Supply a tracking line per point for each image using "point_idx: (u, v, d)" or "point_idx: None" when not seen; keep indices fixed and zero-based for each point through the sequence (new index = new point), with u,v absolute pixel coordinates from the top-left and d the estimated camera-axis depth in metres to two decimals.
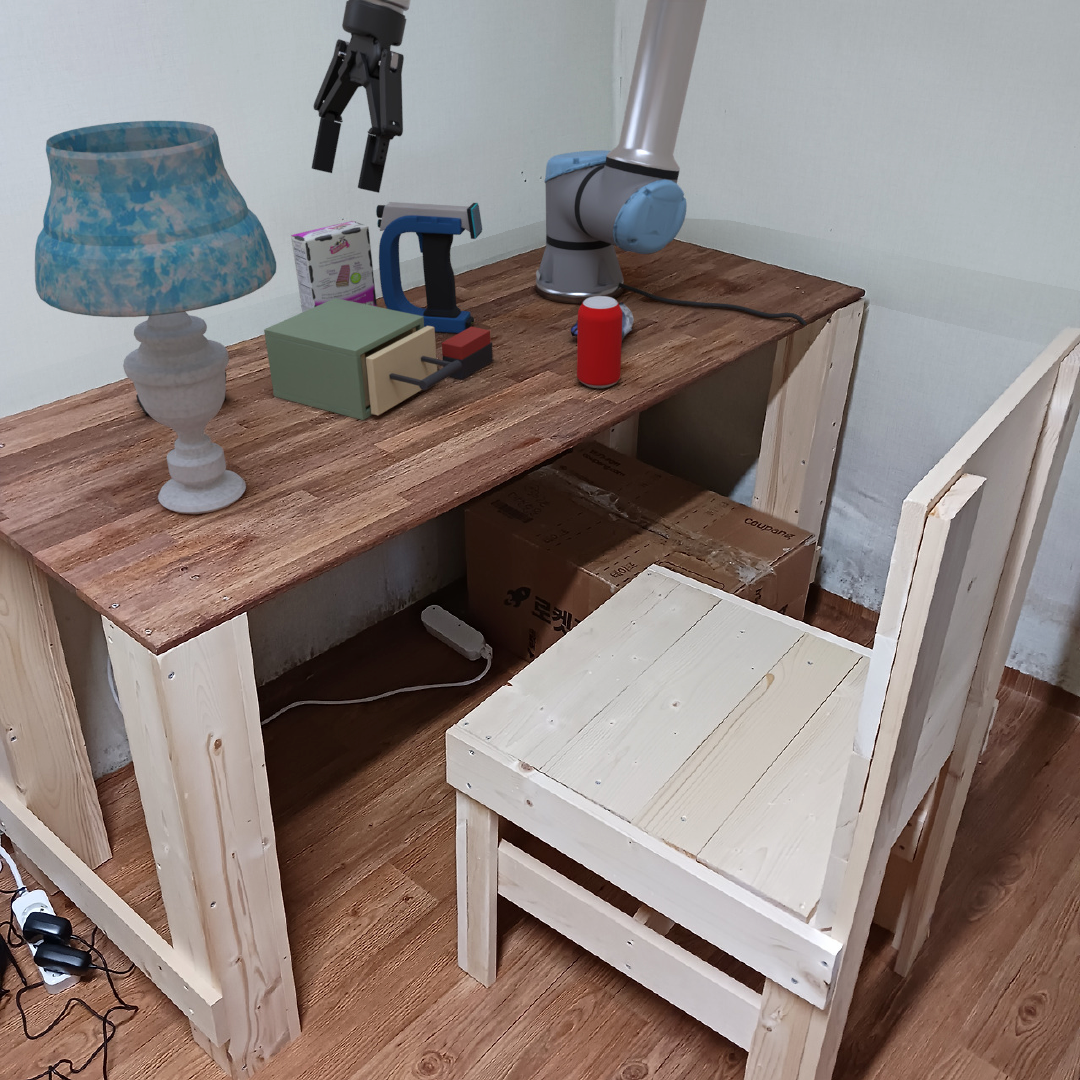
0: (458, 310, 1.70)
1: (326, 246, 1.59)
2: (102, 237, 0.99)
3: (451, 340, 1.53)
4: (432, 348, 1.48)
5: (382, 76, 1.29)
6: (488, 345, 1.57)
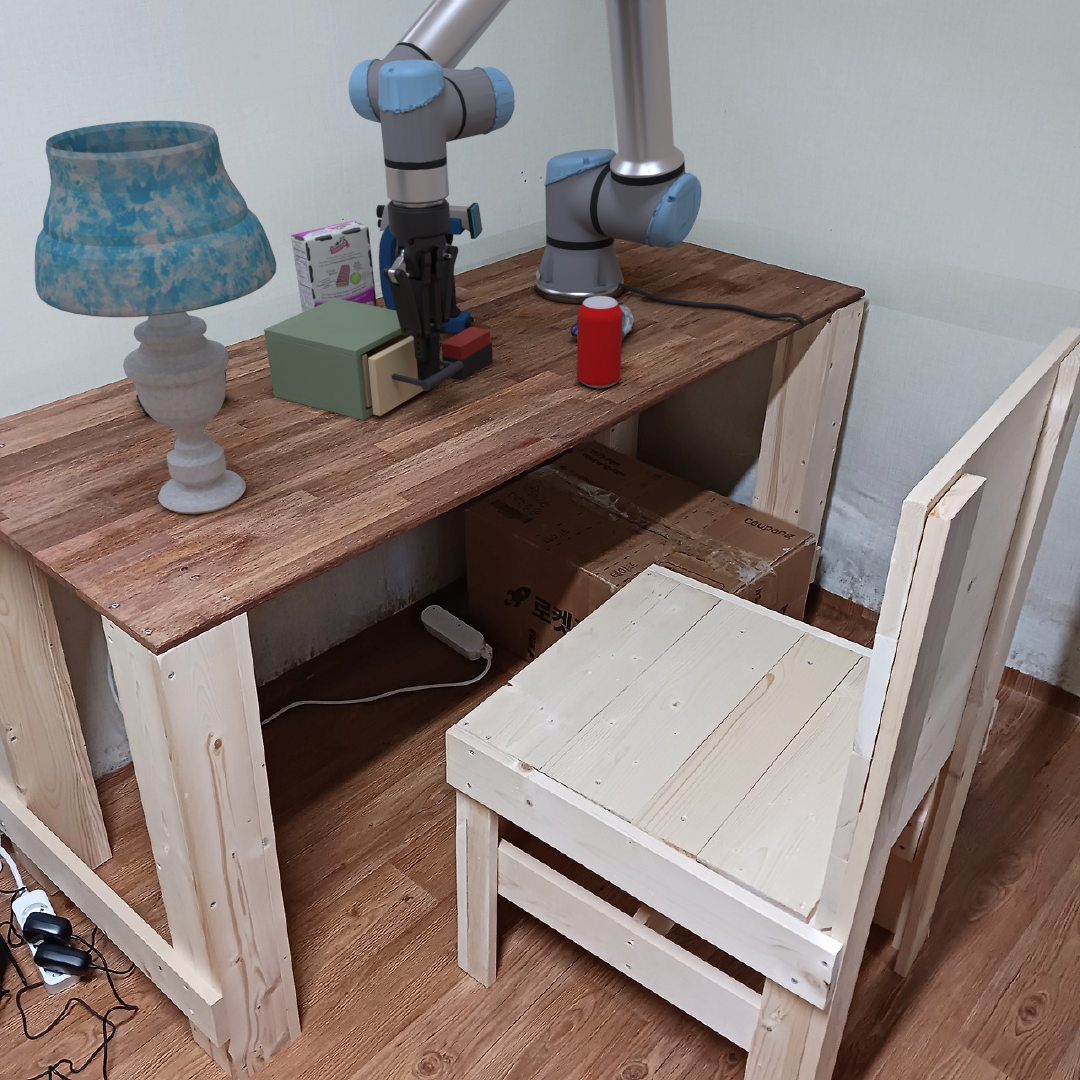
0: (458, 310, 1.70)
1: (326, 246, 1.59)
2: (102, 237, 0.99)
3: (451, 340, 1.53)
4: None
5: None
6: (488, 345, 1.57)
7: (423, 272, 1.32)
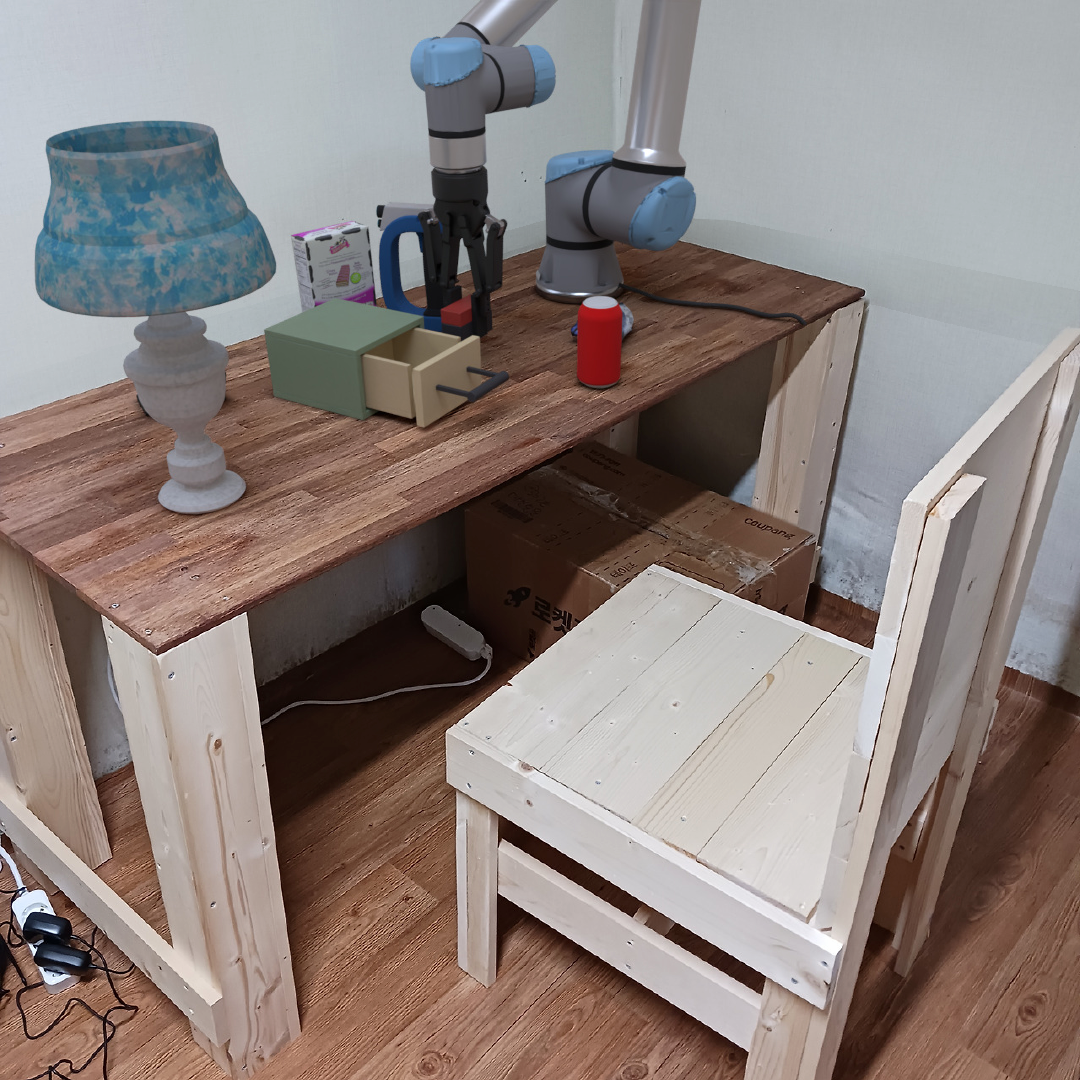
0: None
1: (326, 246, 1.59)
2: (102, 237, 0.99)
3: (450, 307, 1.50)
4: (477, 358, 1.44)
5: None
6: None
7: (442, 229, 1.46)
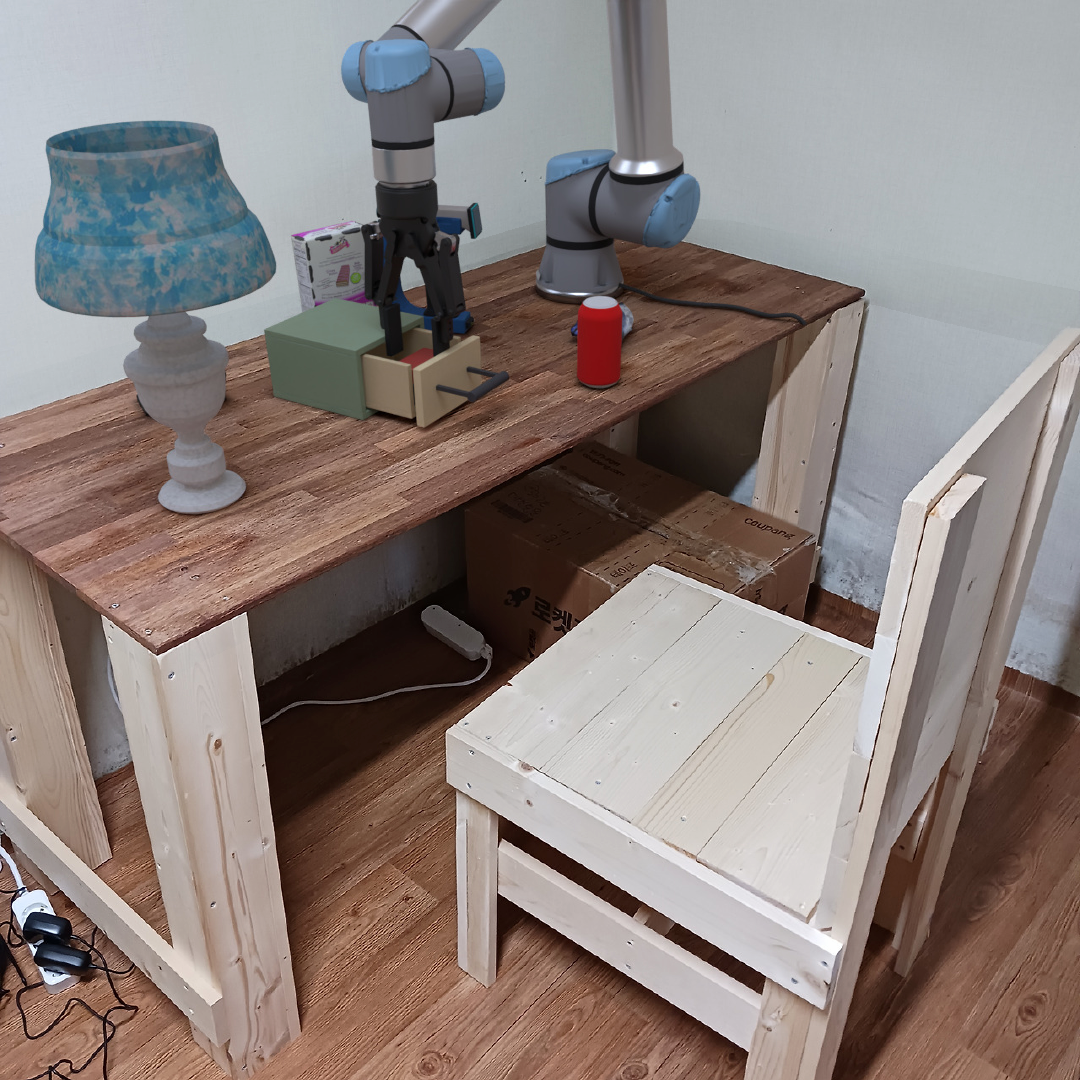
0: None
1: (326, 246, 1.59)
2: (102, 237, 0.99)
3: None
4: (477, 358, 1.44)
5: None
6: None
7: (386, 246, 1.34)
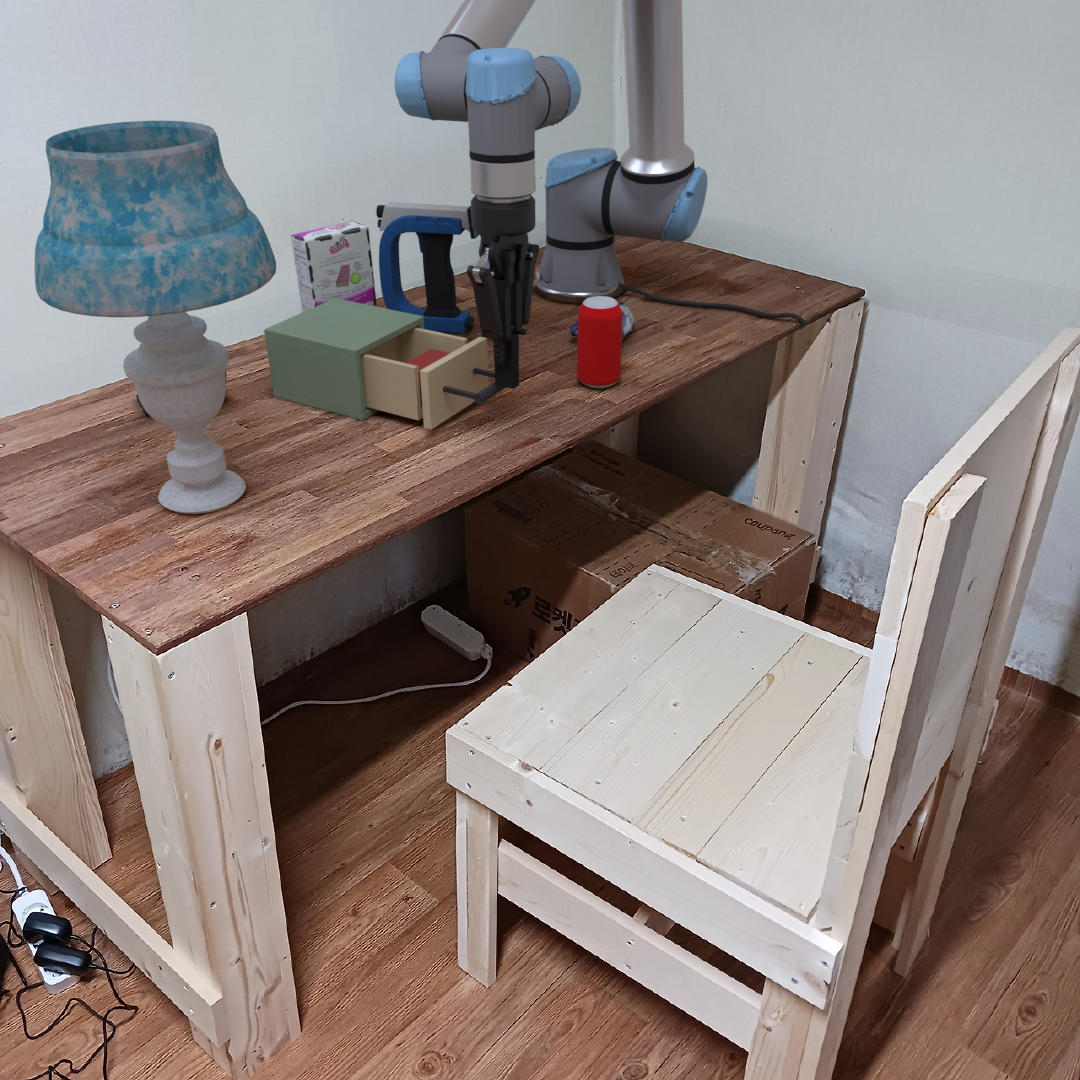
0: (458, 310, 1.70)
1: (326, 246, 1.59)
2: (102, 237, 0.99)
3: None
4: (484, 359, 1.44)
5: None
6: None
7: (507, 272, 1.26)
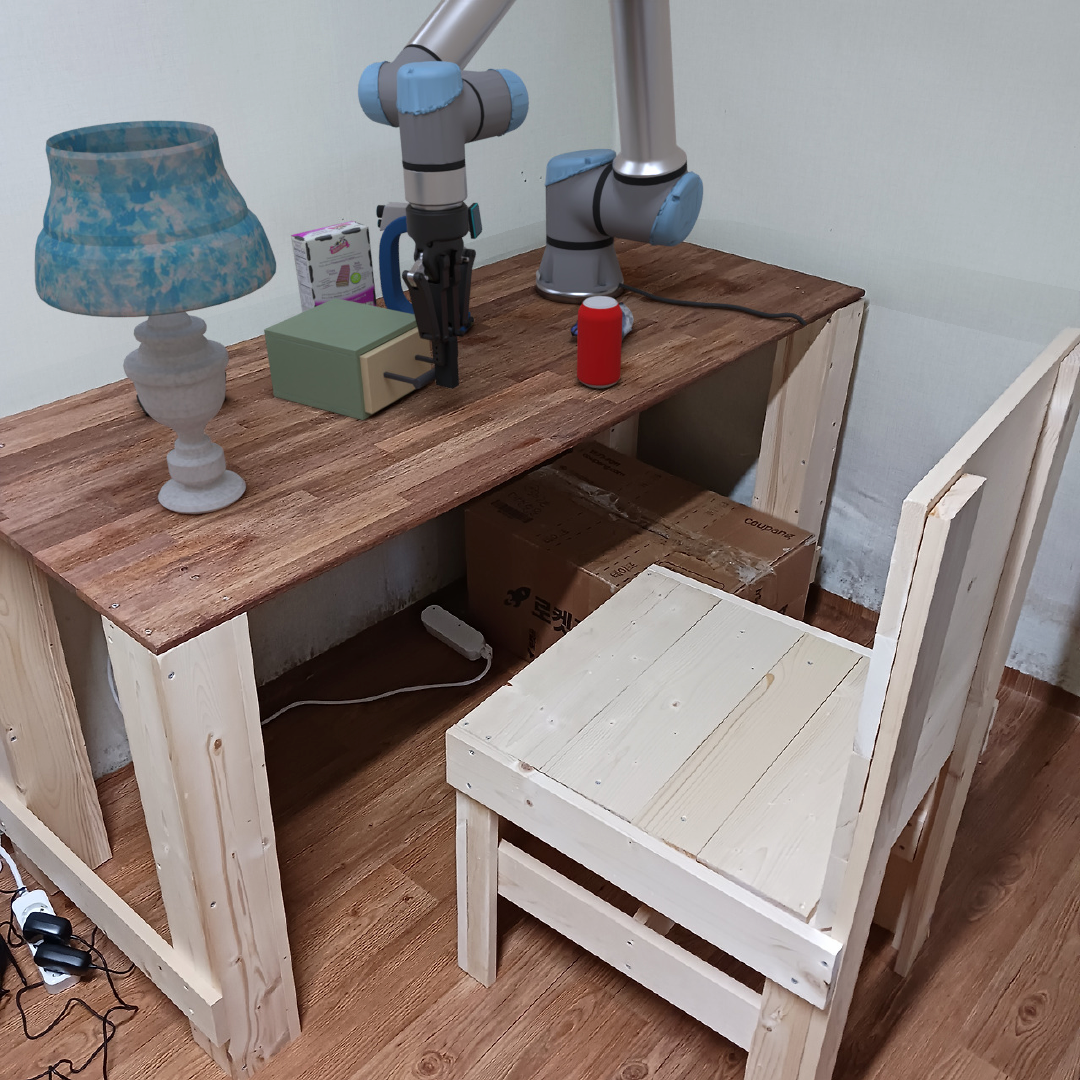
0: None
1: (326, 246, 1.59)
2: (102, 237, 0.99)
3: None
4: (426, 346, 1.48)
5: None
6: None
7: (442, 276, 1.31)
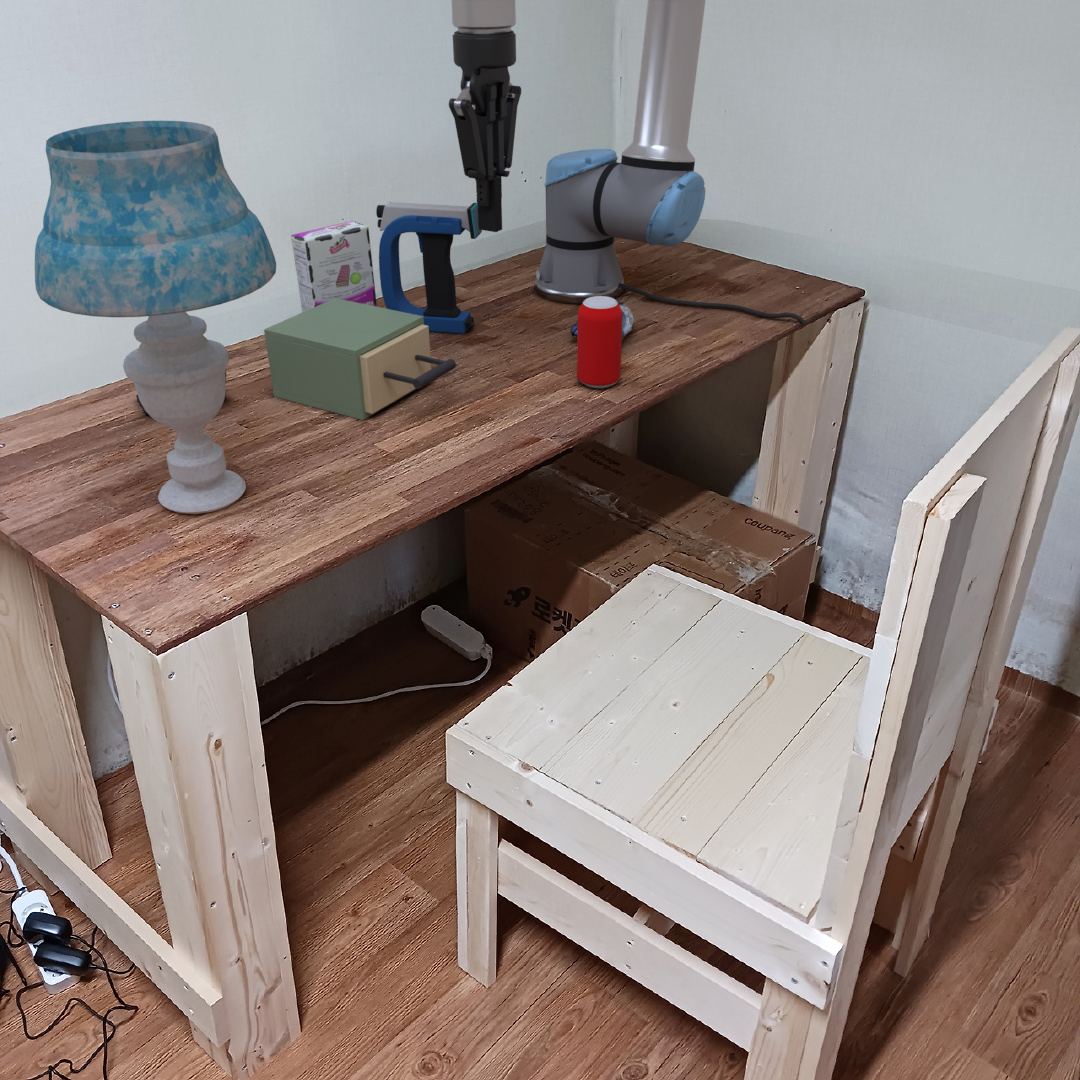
0: (458, 310, 1.70)
1: (326, 246, 1.59)
2: (102, 237, 0.99)
3: None
4: (426, 346, 1.48)
5: None
6: None
7: (489, 107, 1.29)
